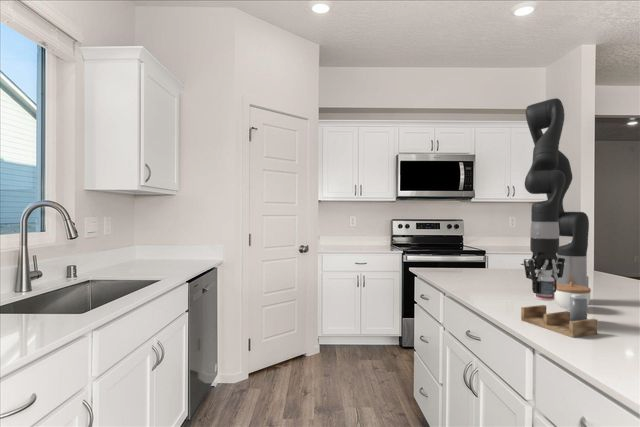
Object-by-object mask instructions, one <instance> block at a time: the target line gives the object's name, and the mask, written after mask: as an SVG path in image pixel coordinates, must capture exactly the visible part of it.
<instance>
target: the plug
mask: <svg viewBox="0 0 640 427" xmlns="http://www.w3.org/2000/svg"><path fill="white" fill-rule="evenodd" d="M569 312H570V321H578V320H586V319H588V305H587V299H586V296H585V295H581V294H571V297H570V311H569Z"/></svg>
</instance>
